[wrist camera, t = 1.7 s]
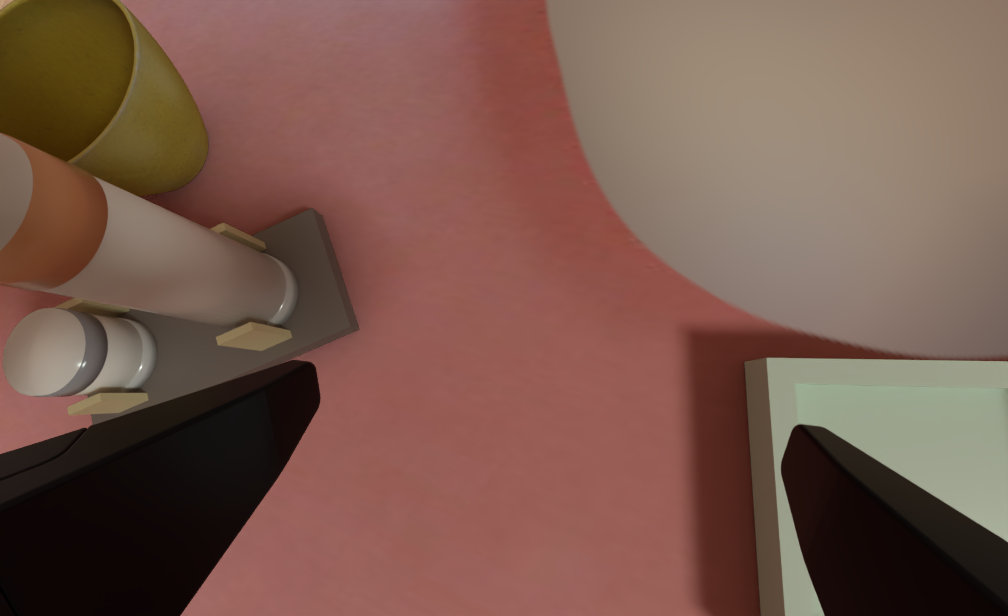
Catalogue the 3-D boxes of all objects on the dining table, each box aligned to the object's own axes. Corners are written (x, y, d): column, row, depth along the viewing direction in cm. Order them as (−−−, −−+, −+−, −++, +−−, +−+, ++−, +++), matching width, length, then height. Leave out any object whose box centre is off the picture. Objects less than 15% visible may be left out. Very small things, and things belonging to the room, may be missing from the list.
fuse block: (113, 435, 25) (30, 443, 21) (91, 319, 27) (9, 306, 23) (359, 329, 24) (318, 317, 20) (321, 214, 26) (277, 183, 22)
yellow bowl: (176, 264, 27) (36, 219, 20) (69, 182, 29) (-91, 115, 22) (279, 124, 27) (179, 33, 20) (166, 55, 30) (42, -49, 23)
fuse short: (83, 395, 25) (-7, 395, 21) (97, 319, 26) (12, 306, 22) (150, 397, 24) (70, 398, 20) (162, 320, 25) (87, 306, 21)
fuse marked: (222, 333, 24) (-157, 267, 12) (232, 258, 25) (-113, 119, 12) (294, 334, 24) (-24, 265, 11) (302, 257, 24) (14, 110, 12)
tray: (762, 651, 19) (790, 689, 17) (744, 361, 21) (766, 357, 19) (1104, 687, 17) (1190, 735, 15) (1047, 366, 20) (1114, 363, 17)
